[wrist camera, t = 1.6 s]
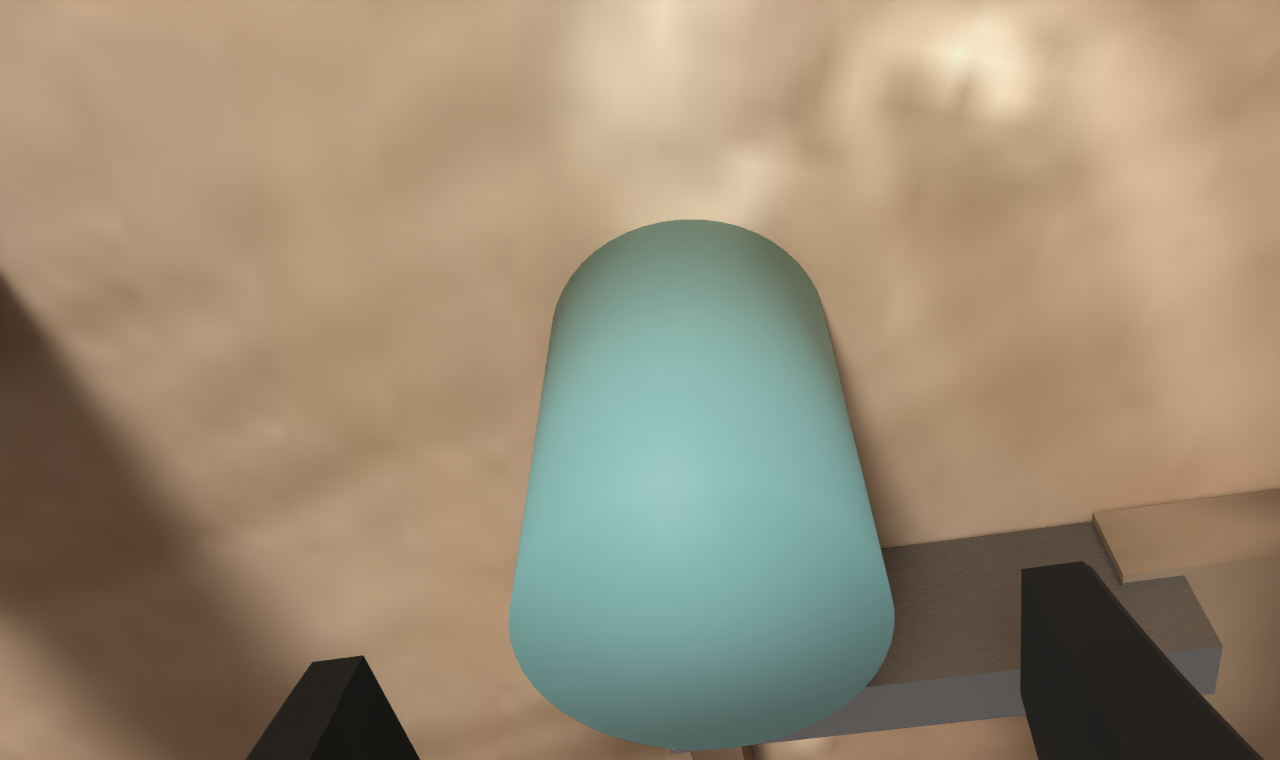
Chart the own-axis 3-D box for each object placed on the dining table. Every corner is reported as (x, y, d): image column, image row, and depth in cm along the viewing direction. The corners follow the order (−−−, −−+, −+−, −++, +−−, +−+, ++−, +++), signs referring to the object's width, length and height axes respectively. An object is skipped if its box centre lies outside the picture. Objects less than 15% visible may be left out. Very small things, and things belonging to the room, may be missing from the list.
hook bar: (1150, 513, 19) (1222, 645, 16) (1145, 560, 20) (1214, 693, 17) (658, 578, 20) (658, 711, 18) (669, 621, 21) (671, 754, 18)
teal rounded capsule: (810, 196, 15) (880, 462, 11) (838, 427, 18) (905, 729, 13) (519, 247, 16) (459, 523, 11) (586, 464, 18) (561, 767, 14)
